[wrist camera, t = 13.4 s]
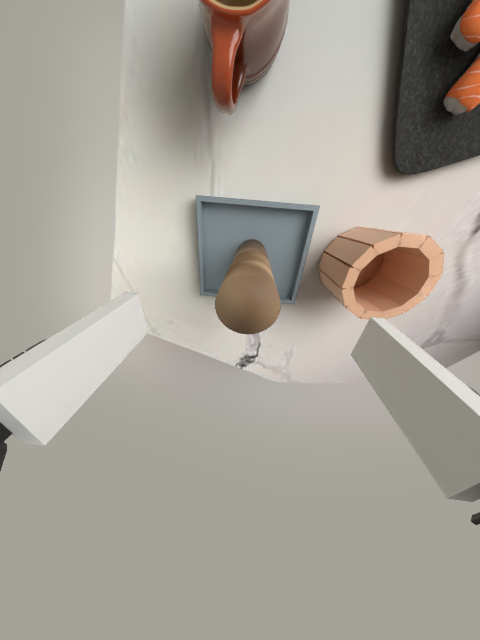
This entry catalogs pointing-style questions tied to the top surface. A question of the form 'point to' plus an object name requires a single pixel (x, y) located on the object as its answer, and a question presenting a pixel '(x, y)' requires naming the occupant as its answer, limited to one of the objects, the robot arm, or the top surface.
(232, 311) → the peg
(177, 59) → the top surface
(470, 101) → the sushi plate
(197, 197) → the tray
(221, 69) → the mug
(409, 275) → the cup
